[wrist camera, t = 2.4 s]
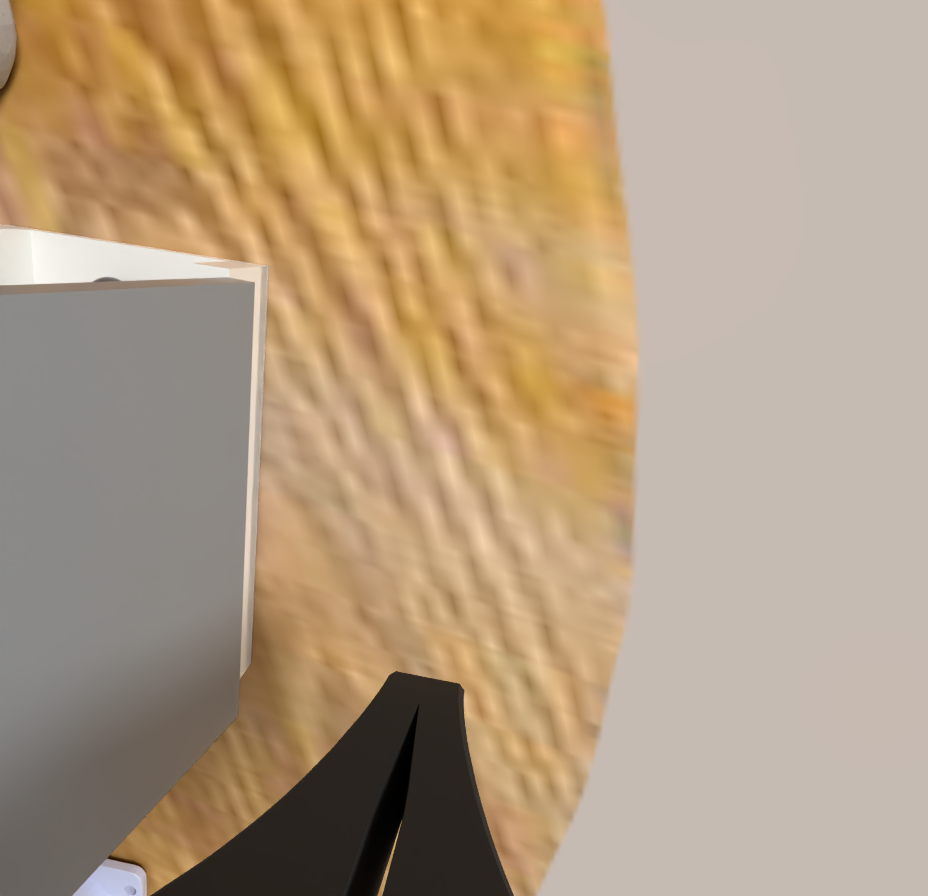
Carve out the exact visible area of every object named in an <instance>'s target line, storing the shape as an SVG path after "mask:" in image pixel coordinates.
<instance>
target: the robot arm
mask: <svg viewBox="0 0 928 896" xmlns="http://www.w3.org/2000/svg"><path fill="white" fill-rule="evenodd" d="M401 821H402V823H401ZM400 824H401V827H400ZM399 827H400V831H399V835H398V839H397V842H396V846H395V850H394V854H393V858H392V862H391V865H390V869H389V873H388V877H387V880H386V884H385V888H384V892H383V895H382V896H514V895H513V893H512V890H511V888H510V885H509V883H508V880H507V878H506V875H505V873H504V870H503V867H502V865H501V862H500V859H499V857H498V854H497V851H496V848H495V846H494V843H493V840H492V837H491V834H490V830H489V827H488V824H487V821H486V817H485V814H484V811H483V807H482V804H481V800H480V797H479V793H478V789H477V785H476V781H475V776H474V772H473V767H472V763H471V758H470V753H469V748H468V742H467V735H466V728H465V720H464V689H463V688H462V687H461V685H460V684H458V683H453V682H448V681H442V680H437V679H432V678H427V677H422V676H417V675H412V674H407V673H402V672H397V671H396V672H394V673H392V674H391V675H389V677H388V678H387V680H386V682H385V683H384V685H383V686H382V688H381V689H380V691H379V692H378V693H377V695H376V696H375V698H374V699H373V700H372V702H371V703H370V704H369V706H368V707H367V708H366V709H365V711H364V712H363V713H362V714H361V716H360V717H359V718H358V719H357V721H356V722H355V723H354V724H353V725H352V726H351V727H350V729H349V730H348V731H347V732H346V733H345V734H344V736H343V737H342V738H341V739H340V740H339V741H338V743H337V744H336V745H335V746H334V747H333V748H332V749H331V750H330V751H329V752H328V753H327V754H326V755H325V756H324V757H323V758H322V759H321V760H320V761H319V762H318V764H317V765H316V766H315V767H314V768H313V769H312V770H311V771H310V772H309V773H308V774H307V775H306V776H305V777H304V778H303V779H302V780H301V781H300V782H299V783H298V784H296V785H295V786H294V787H293V788H292V789H291V790H290V791H289V792H288V793H287V794H286V795H285V796H284V797H282V798H281V799H280V800H279V801H278V802H277V803H276V804H274V805H273V806H272V807H271V808H270V809H269V810H268V811H266V812H265V813H264V814H263V815H262V816H261V817H259V818H258V819H257V820H256V821H254V822H253V823H252V824H251V825H249V826H248V827H247V828H246V829H244V830H243V831H242V832H240V833H239V834H238V835H237V836H235V837H234V838H233V839H232V840H230V841H229V842H228V843H226V844H225V845H224V846H222V847H221V848H220V849H218V850H217V851H216V852H214V853H213V854H212V855H210V856H209V857H207V858H206V859H205V860H203V861H202V862H200V863H199V864H197V865H196V866H194V867H193V868H191V869H190V870H188V871H187V872H185V873H184V874H182V875H181V876H179V877H178V878H176V879H175V880H173V881H172V882H170V883H169V884H167V885H166V886H164V887H163V888H161V889H160V890H158V891H157V892H155V893H154V894H152V895H151V896H377V895H378V892H379V889H380V886H381V883H382V880H383V876H384V873H385V870H386V867H387V864H388V861H389V858H390V855H391V852H392V849H393V846H394V843H395V839H396V836H397V833H398V830H399ZM73 896H147V879H146V873H145V871H144V870H143V869H142V868H141V867H140V866H137V865H133V864H129V863H124V862H120V861H115V860H111V859H106V860H105V861H104V862H103V863H102V864H101V865H100V866H99V867H98V868H97V870H96V871H95V872H94V873H93V874H92V875H91V876H90V877H89V878H88V879H87V880H86V881H85V883H84V884H83V885H82V886H81V887H80V888H79V889H78V890H77V891H76V892H75V893H74V894H73Z"/></svg>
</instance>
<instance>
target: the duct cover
mask: <svg viewBox="0 0 928 896" xmlns="http://www.w3.org/2000/svg"><path fill="white" fill-rule="evenodd" d="M254 294H255V282H251V281H245V280H240V279H234V278H229V277H220V278H192V279H165V280H137V281H109V282H81V283H54V284H26V285H0V896H73V894H74V893H75V892H76V891H77V890H78V889H79V888H80V887H81V886H82V885H83V884H84V883H85V881H86V880H87V879H88V878H89V877H90V876H91V875H92V874H93V873H94V872H95V871H96V870H97V868H98V867H99V866H100V865H101V864H102V863H103V862H104V861H105V860H106V859H107V858H108V857H109V855H110V854H111V853H112V852H113V851H114V850H115V849H116V848H117V847H118V846H119V845H120V844H121V842H122V841H123V840H124V839H125V838H126V837H127V836H128V835H129V834H130V833H131V832H132V831H133V830H134V828H135V827H136V826H137V825H138V824H139V823H140V822H141V821H142V820H143V819H144V818H145V817H146V815H147V814H148V813H149V812H150V811H151V810H152V809H153V808H154V807H155V806H156V805H157V804H158V802H159V801H160V800H161V799H162V798H163V797H164V796H165V795H166V794H167V793H168V792H169V791H170V789H171V788H172V787H173V786H174V785H175V784H176V783H177V782H178V781H179V780H180V779H181V778H182V776H183V775H184V774H185V773H186V772H187V771H188V770H189V769H190V768H191V767H192V766H193V765H194V763H195V762H196V761H197V760H198V759H199V758H200V757H201V756H202V755H203V754H204V753H205V752H206V750H207V749H208V748H209V747H210V746H211V745H212V744H213V743H214V742H215V741H216V740H217V739H218V737H219V736H220V735H221V734H222V733H223V732H224V731H225V730H226V729H227V728H228V727H229V726H230V724H231V723H232V722H233V721H234V720H235V719H236V718H237V717H238V713H239V687H240V661H241V635H242V609H243V582H244V556H245V530H246V504H247V477H248V451H249V425H250V399H251V373H252V346H253V320H254Z"/></svg>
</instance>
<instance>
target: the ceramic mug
mask: <svg viewBox="0 0 928 896" xmlns="http://www.w3.org/2000/svg"><path fill="white" fill-rule="evenodd" d="M16 43H17V34H16V26H15V19H14V15H13V11H12V7H11V3H10V0H0V89H1V88H2V87H3V86H4V85H5V83H6V82H7V79H8V77H9V74H10V72H11V69H12V67H13V64H14V61H15V57H16Z"/></svg>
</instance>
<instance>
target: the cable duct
mask: <svg viewBox="0 0 928 896" xmlns="http://www.w3.org/2000/svg"><path fill="white" fill-rule="evenodd" d="M268 269H269V266H267V265H260V264H254V263H248V262H241V261H235V260H229V259H222V258H216V257H210V256H204V255H197V254H191V253H185V252H178V251H172V250H166V249H159V248H153V247H147V246H140V245H134V244H128V243H122V242H115V241H109V240H103V239H96V238H90V237H84V236H77V235H71V234H65V233H58V232H52V231H46V230H39V229H33V228H27V227H21V226H14V225H0V285H26V284H54V283H81V282H109V281H137V280H165V279H192V278H220V277H229V278H234V279H240V280H245V281H251V282H255V294H254V320H253V346H252V373H251V399H250V425H249V451H248V477H247V504H246V530H245V556H244V582H243V609H242V635H241V661H240V678H241V677H242V676H243V674H244V673H245V671H246V670H247V668H248V667H249V665H250V664H251V652H252V629H253V607H254V584H255V562H256V539H257V517H258V494H259V472H260V449H261V427H262V404H263V382H264V359H265V337H266V314H267V292H268Z"/></svg>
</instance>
